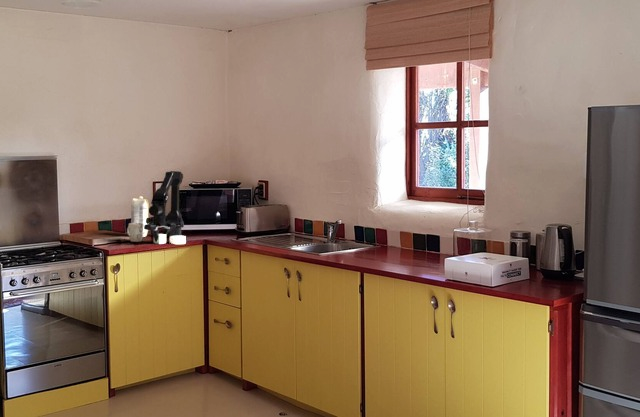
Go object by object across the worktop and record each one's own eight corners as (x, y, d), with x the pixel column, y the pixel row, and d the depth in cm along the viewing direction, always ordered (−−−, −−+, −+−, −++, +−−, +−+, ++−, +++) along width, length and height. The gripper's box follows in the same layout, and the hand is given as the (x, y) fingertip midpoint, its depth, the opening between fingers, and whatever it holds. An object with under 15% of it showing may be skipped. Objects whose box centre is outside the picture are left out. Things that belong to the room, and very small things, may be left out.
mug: (134, 242, 424) (135, 225, 423) (120, 239, 431) (120, 222, 430) (146, 241, 430) (146, 224, 429) (132, 238, 438) (132, 221, 437)
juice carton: (148, 235, 452) (149, 196, 449) (146, 237, 444) (146, 197, 441) (133, 235, 452) (133, 195, 449) (130, 237, 444) (130, 196, 441)
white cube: (160, 242, 429) (160, 233, 429) (166, 243, 426) (166, 234, 426) (153, 242, 425) (153, 234, 425) (159, 244, 422) (159, 235, 422)
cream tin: (178, 241, 435) (178, 234, 434) (188, 243, 429) (189, 236, 429) (166, 243, 428) (166, 236, 427) (176, 245, 422) (177, 238, 422)
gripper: (163, 211, 436) (163, 238, 438) (138, 213, 422) (137, 241, 423) (176, 213, 429) (176, 240, 431) (150, 215, 415) (150, 243, 416)
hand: (159, 241), depth 426 cm, fingers closed on white cube, 5 cm apart
